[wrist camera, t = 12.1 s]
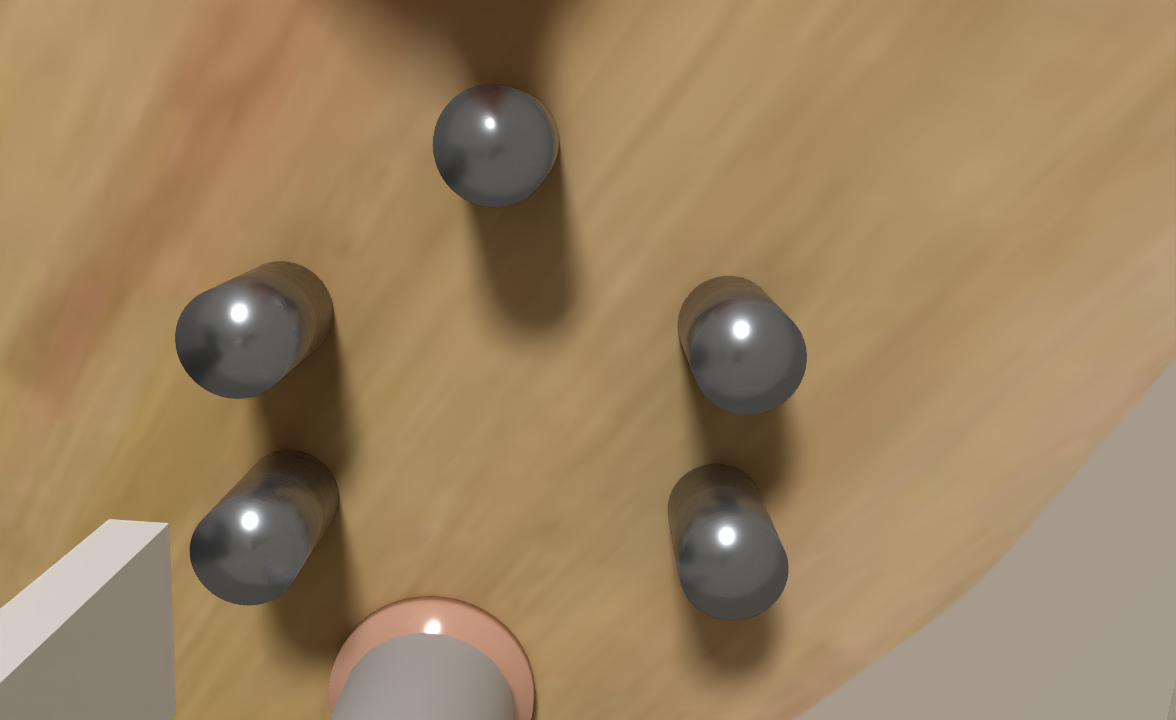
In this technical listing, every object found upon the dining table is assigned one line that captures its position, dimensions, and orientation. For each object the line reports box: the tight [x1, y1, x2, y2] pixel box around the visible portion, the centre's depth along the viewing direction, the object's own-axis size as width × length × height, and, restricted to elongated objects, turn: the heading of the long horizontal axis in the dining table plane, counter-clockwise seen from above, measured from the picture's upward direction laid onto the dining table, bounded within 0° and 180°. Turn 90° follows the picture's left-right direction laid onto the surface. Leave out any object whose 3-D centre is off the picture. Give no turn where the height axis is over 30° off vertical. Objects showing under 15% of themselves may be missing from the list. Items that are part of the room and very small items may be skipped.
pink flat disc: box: [329, 596, 535, 720], centre depth 45 cm, size 9×9×1 cm
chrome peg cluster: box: [175, 84, 807, 620], centre depth 38 cm, size 22×19×6 cm
